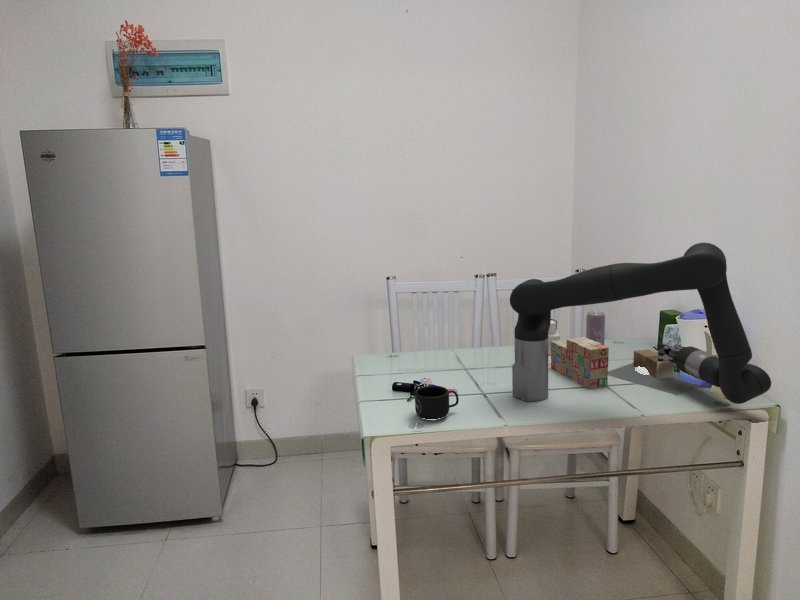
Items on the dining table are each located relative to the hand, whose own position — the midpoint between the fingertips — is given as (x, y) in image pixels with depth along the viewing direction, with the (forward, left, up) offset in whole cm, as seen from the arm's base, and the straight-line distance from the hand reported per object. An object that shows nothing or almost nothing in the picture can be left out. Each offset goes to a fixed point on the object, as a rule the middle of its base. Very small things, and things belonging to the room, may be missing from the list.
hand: (659, 346), depth 162 cm
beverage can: (+3, +25, -9) cm, 27 cm away
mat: (-2, -1, -9) cm, 9 cm away
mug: (-70, +19, -10) cm, 73 cm away
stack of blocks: (-18, +15, -10) cm, 26 cm away
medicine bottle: (-6, +38, -9) cm, 40 cm away
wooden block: (-1, -3, -6) cm, 7 cm away
